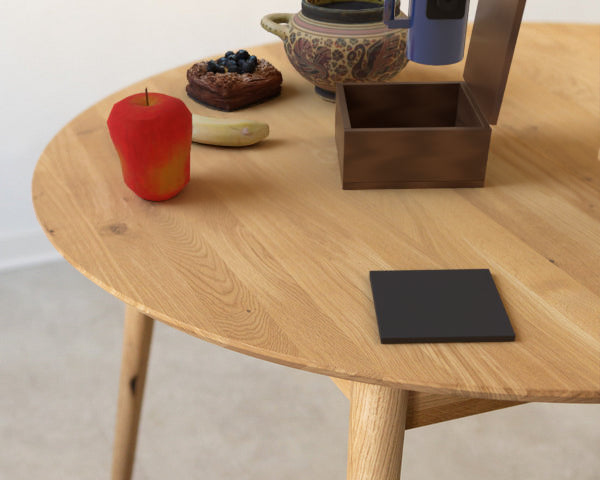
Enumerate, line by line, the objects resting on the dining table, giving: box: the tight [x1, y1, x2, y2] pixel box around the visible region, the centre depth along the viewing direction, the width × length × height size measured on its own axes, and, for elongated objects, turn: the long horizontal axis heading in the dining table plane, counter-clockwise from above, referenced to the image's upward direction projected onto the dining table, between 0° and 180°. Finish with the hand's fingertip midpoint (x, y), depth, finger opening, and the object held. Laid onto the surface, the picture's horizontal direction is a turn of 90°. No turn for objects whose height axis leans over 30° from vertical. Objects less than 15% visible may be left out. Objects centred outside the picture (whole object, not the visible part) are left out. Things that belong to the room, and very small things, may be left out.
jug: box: [383, 0, 471, 67], centre depth 68 cm, size 8×5×10 cm, turn 90°
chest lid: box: [462, 0, 527, 126], centre depth 83 cm, size 16×15×1 cm
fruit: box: [191, 112, 270, 147], centre depth 97 cm, size 7×15×3 cm, turn 54°
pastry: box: [184, 49, 284, 113], centre depth 108 cm, size 11×12×6 cm
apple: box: [106, 86, 193, 202], centre depth 82 cm, size 9×8×12 cm
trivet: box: [368, 268, 517, 344], centre depth 68 cm, size 11×10×1 cm
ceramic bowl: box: [259, 0, 411, 103], centre depth 106 cm, size 24×18×15 cm
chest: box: [334, 80, 493, 190], centre depth 90 cm, size 16×15×7 cm
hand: (439, 6), depth 68 cm, fingers closed on jug, 5 cm apart
